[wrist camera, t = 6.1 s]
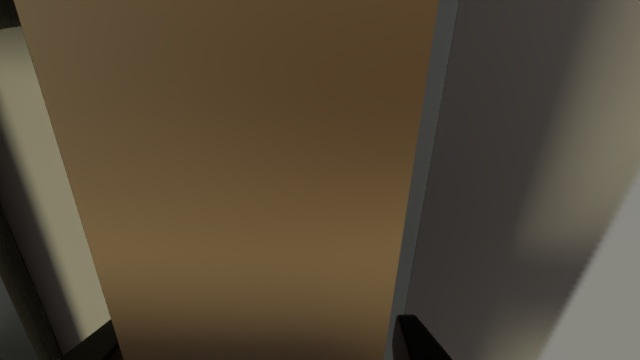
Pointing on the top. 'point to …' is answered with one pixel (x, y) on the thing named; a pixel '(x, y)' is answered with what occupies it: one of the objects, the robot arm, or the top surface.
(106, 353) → the robot arm
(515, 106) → the top surface
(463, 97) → the top surface
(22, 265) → the rack
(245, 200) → the rail
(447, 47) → the pad
